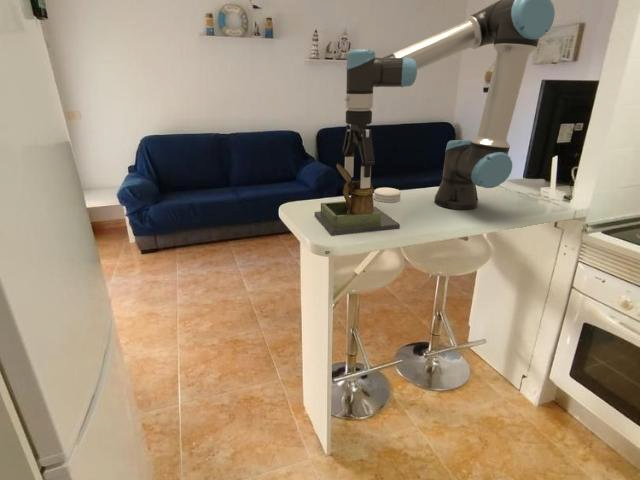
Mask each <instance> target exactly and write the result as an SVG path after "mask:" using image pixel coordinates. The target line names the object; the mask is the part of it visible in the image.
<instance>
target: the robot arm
mask: <svg viewBox="0 0 640 480" xmlns="http://www.w3.org/2000/svg"><path fill="white" fill-rule="evenodd" d="M555 12H556V11H555V5H554V3H553V2H552V0H497V1H496V2H493V3H491V4H490V5H488V6H486V7H484V8H483V9H481V10H479V11H477V12H474V13H473V14H471V15H468V16H467V17H466V18H465V19H464V21H463V22H462V23H458V24H457V25H455V26H452V27H450V28H448V29H446V30H443V31H441V32H438V33H436V34H434V35H431V36H428V37H426V38H425V39H422V40H420V41H417V42H416V43H413V44H410V45H409V46H406V47H404V48H402V49H400V50H397V51H394V52H392V53H390V54H388V55H385V56H383V57H376V54H375V50H374V49H367V48H366V49H359V48H358V49H352V50H349V51H348V53H347V55H346V56H347V57H346V67H345V69H346V93H345V94H346V95H345V98H344V101H345V102H346V104H345V107H346V109H347V110H346V111H345V123H346V129H345V135H344V140H343V145H342V150H341V152H342V154H343V155H344V168H345V169H346V170H347V172H348V173H349V175H350V176H351V178H354V166H355V165H354V163H355V162H354V159H355V153H354V152H355V151H356V148H357V147H358V151H359V155H360V158H361V164H360V181H361V186H360V188H361V189H362V188H370V182H371V177H372V176H371V175H372V167H373V166H374V165H376V160H375V153H374V145H373V138H372V134H373V132H372V128H371V129H367V126H368V125H370V124H371V123H372V122H373V121H372V119H373V111H372V110H371V109H373V105H374V104H373V103H374V88H380V87H381V88H382V87H384V88H400V87H401V88H404V87H406V88H407V87H411V86H412V85H414V83H415V82H416V80H417V79H416V78H417V75H418V70H420V69H424V68H425V67H428V66H430V65H432V64H435V63H437V62H440V61H442V60H444V59H446V58H449V57H451V56H454V55H456V54H458V53H460V52H463V51H465V50H467V49H472V50H475V49H478V48H480V47H483V46H487V45H492V44H493V46H492V47H493V48H494V50H495V51H496V57H495V61H494V64H493V69H492V72H491V73H492V74H491V78H490V82H489V86H488V90H487V93H486V99H485V103H484V106H483V112H482V115H481V119H480V124H479V126H478V127H479V128H478V132H477V136H475V137H474V138H473V139H455V140H454V139H453V140H449V141H448V142H447V144H446V146H445V147H446V148H445V154H444V155H445V156H444V163H443V169H442V170H443V171H442V179H441V182H440V184H439V187H438V189H437V191H436V193H435V195H434V201H433V202H434V204H436V205H438V206H440V207H441V208H446V209H450V210H460V211H461V210H464V211H465V210H466V211H467V210H472V209H473V210H474V209H476V208H477V207H478V205H479V197H478V190H477V187H480V188H481V187H482V188H483V189H493V188H496V187H499V186H500V185H501V184H503V183H505V182H506V180H508V178H509V177H510V175H511V173H512V170H513V161H512V159H511V156H509V152H510V147H511V145H510V144H509V142H508V140H507V139H508V135H509V132H510V128H511V123H512V120H513V116H514V113H515V110H516V109H515V108H516V105H517V101H518V97H519V93H520V90H521V86H522V83H523V79H524V75H525V72H526V68H527V63H528V61H529V56H530V55H532V53H533V52H534V51H536V50H537V48H538V45H539V41H540V39H541V38H542V37H543V36H545V35H546V33H548V32H549V31H550V30H551V27H552V26H553V24H554V20H555V14H556V13H555Z"/></svg>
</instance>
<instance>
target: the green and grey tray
mask: <svg viewBox="0 0 640 480" xmlns="http://www.w3.org/2000/svg"><path fill="white" fill-rule="evenodd" d="M348 210H349V207H348V204H347V202H346V200H343V201H342V200H341V201H331V202H321V203H320V210H319V211H314V218H315V219H317V221H318V223H320V224H321V226H322V227H323V226H324V227H323V228H324V229H325V230H326V232H327V233H328V234H329V235H330V236H332V237H333V236H342V235H352V234H362V233H371V232H382V231H383V232H384V231H389V230H392V231H393V230H400V229H401V228H400V226H401V224H400V223H399V222H398V221H396V220H395V219H394V218H392V217H391V216H389V215H388V214H387V213H385V212H384V211H382V210H381V209H380V208H379V207H377V206H374V212H372V213H360V214H349V215H347V211H348Z"/></svg>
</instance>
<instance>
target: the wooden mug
mask: <svg viewBox="0 0 640 480" xmlns="http://www.w3.org/2000/svg"><path fill="white" fill-rule="evenodd" d="M336 169H337V170H338V172H339V173H340V174H341V177H342V178H343V179H344V180H345V183H344V186H343V191H342V194H343V197H344V201H346V202H347V204H348V207H349V210H348V211H347V215H349V214H360V213H372V212H374V207H375V206H374V190H375V189H374V187H373V182H371V181H370V188H362V189H361V188H360V186H361V180H357V181H354V180H353V179H352V178H353V177H351V176H350V175H349V173H348V172H347V170H346V169H345V166H343V165H342V164H340V163H339V162H337V163H336ZM349 192H350V193H351V194H350V193H349ZM349 194H350V195H349Z"/></svg>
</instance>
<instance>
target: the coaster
mask: <svg viewBox="0 0 640 480" xmlns="http://www.w3.org/2000/svg"><path fill="white" fill-rule="evenodd" d="M373 190H374V193H373V200H375V201H377V202H378V203H383V204H384V203H385V204H393V203H399V202H400V200H401V195H402V193H401V192H402V191H400V190H399V189H398V188H397V189H396V188H392V187H378V188H376V189H373Z"/></svg>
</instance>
